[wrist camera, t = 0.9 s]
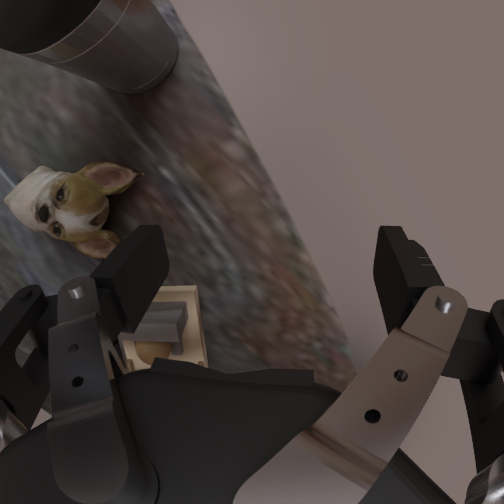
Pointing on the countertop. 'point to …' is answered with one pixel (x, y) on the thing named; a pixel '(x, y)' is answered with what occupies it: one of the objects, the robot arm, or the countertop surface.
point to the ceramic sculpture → (72, 204)
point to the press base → (189, 329)
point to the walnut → (152, 350)
